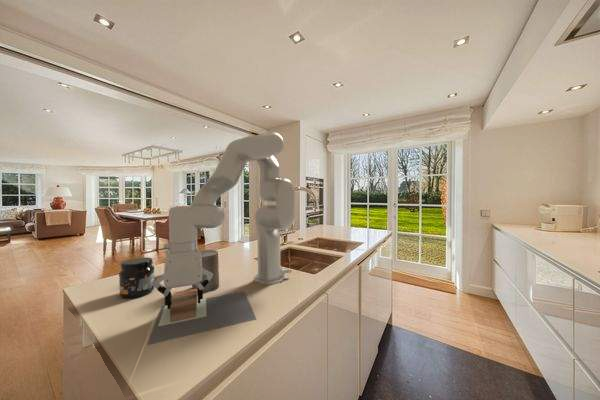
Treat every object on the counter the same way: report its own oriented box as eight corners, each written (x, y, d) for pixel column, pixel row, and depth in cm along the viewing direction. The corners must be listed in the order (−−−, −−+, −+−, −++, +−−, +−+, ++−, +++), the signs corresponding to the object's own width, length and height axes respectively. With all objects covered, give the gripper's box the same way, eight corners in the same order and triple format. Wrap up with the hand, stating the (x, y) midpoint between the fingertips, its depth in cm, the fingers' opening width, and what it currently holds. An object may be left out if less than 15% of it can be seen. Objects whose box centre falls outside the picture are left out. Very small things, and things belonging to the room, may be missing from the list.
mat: (244, 292, 81) (244, 290, 81) (256, 320, 62) (256, 318, 62) (161, 307, 70) (161, 305, 70) (147, 346, 52) (147, 344, 52)
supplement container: (116, 293, 81) (115, 261, 80) (149, 284, 89) (148, 255, 88) (123, 302, 74) (122, 267, 74) (158, 292, 82) (158, 260, 82)
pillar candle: (215, 281, 92) (214, 245, 92) (222, 288, 84) (221, 250, 84) (189, 287, 86) (188, 249, 86) (194, 296, 78) (193, 254, 78)
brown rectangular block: (196, 317, 63) (195, 302, 63) (170, 322, 61) (169, 307, 61) (197, 300, 73) (197, 288, 73) (175, 304, 71) (174, 291, 71)
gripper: (146, 252, 60) (147, 317, 60) (215, 246, 67) (215, 303, 67) (152, 247, 67) (153, 304, 67) (213, 241, 74) (214, 294, 74)
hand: (184, 303), depth 67 cm, fingers open, 7 cm apart
